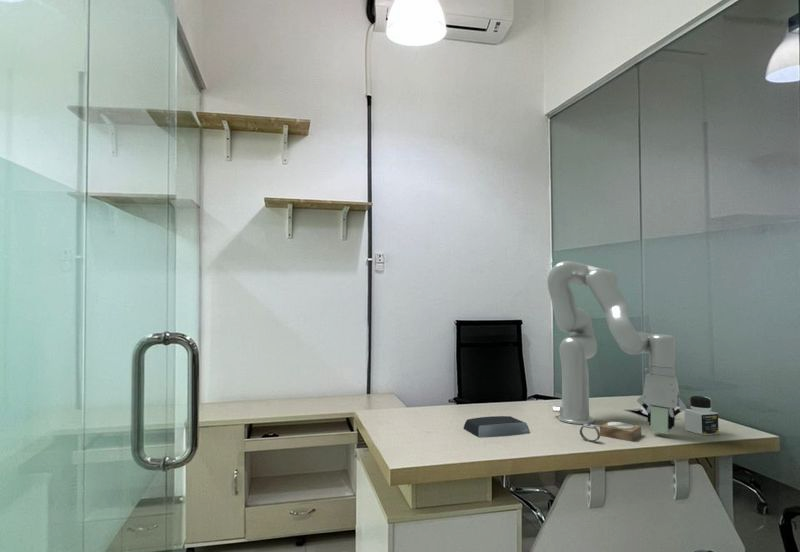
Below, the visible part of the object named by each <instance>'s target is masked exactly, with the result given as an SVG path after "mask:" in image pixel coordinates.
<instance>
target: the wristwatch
mask: <svg viewBox="0 0 800 552" xmlns="http://www.w3.org/2000/svg"><path fill="white" fill-rule="evenodd" d="M583 428H586V429H587V428H588V429H592V430H593V429H594V431H595V432H596V433H597V434H596V435H597V437H596V438H595V439H589V438H587V437H586V436H585V435H584V433H583ZM579 434H580V436H581V438H582V439H583V440H584V441H586V442H590V443H593V442H595V441H598V440H599V439H600V437H601V436H600V429H599V428H598V427H597V425H595V424H592V423H591V424H582V426H581V427H580V428H579Z"/></svg>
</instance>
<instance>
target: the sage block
mask: <svg viewBox="0 0 800 552" xmlns="http://www.w3.org/2000/svg"><path fill="white" fill-rule="evenodd" d="M669 415H670V414H669V408H665V407H659V406H651V425H650V431H651V432H657V433H658V432H659V433H663V434H666V435H667V434H668V435H669V433H670V432H672V429H668V417H669Z"/></svg>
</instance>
